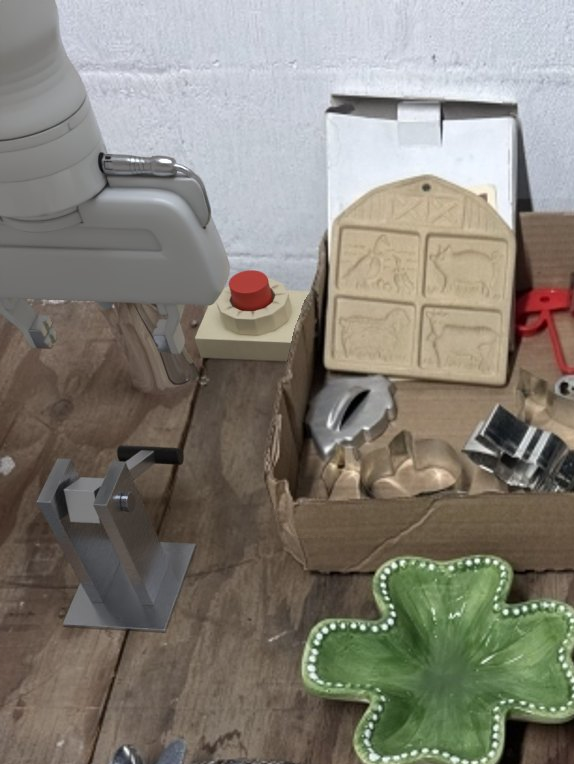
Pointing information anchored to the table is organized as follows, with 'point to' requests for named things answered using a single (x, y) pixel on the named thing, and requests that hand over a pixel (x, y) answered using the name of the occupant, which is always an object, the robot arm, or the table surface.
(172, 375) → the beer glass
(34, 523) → the table surface
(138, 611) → the bracket
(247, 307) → the button
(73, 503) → the lever
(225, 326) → the button box
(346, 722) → the table surface
